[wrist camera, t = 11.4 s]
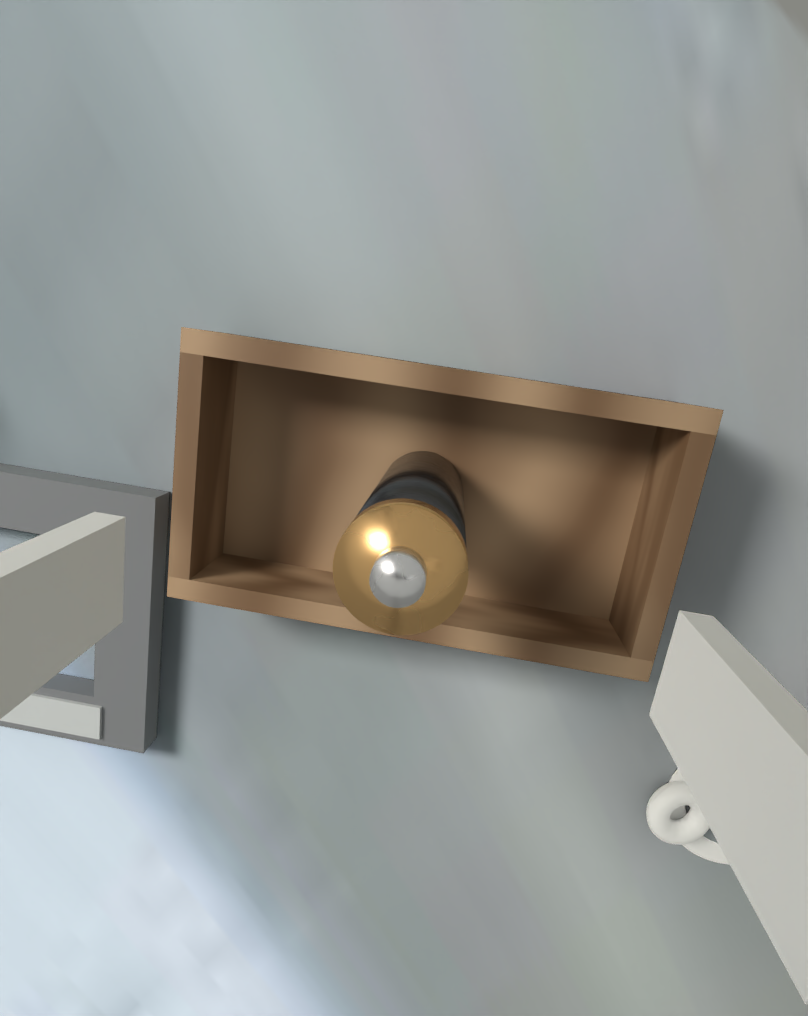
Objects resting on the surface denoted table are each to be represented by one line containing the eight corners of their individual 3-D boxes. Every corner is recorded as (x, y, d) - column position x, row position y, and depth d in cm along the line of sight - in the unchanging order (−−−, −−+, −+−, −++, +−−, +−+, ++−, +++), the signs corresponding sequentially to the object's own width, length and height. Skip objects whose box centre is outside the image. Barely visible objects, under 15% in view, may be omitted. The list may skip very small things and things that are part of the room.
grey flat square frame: (-98, 446, 32) (-128, 451, 31) (169, 491, 32) (153, 498, 30) (-84, 691, 36) (-109, 707, 34) (156, 737, 35) (141, 755, 34)
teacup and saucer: (622, 816, 34) (643, 875, 30) (695, 705, 32) (727, 752, 28) (760, 878, 34) (799, 945, 30) (841, 771, 32) (894, 828, 28)
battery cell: (387, 444, 29) (335, 501, 16) (469, 457, 29) (480, 524, 16) (376, 523, 30) (319, 634, 17) (456, 536, 30) (456, 658, 17)
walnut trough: (210, 561, 32) (166, 596, 27) (227, 333, 29) (181, 326, 24) (618, 632, 31) (648, 681, 26) (678, 402, 28) (723, 410, 23)
